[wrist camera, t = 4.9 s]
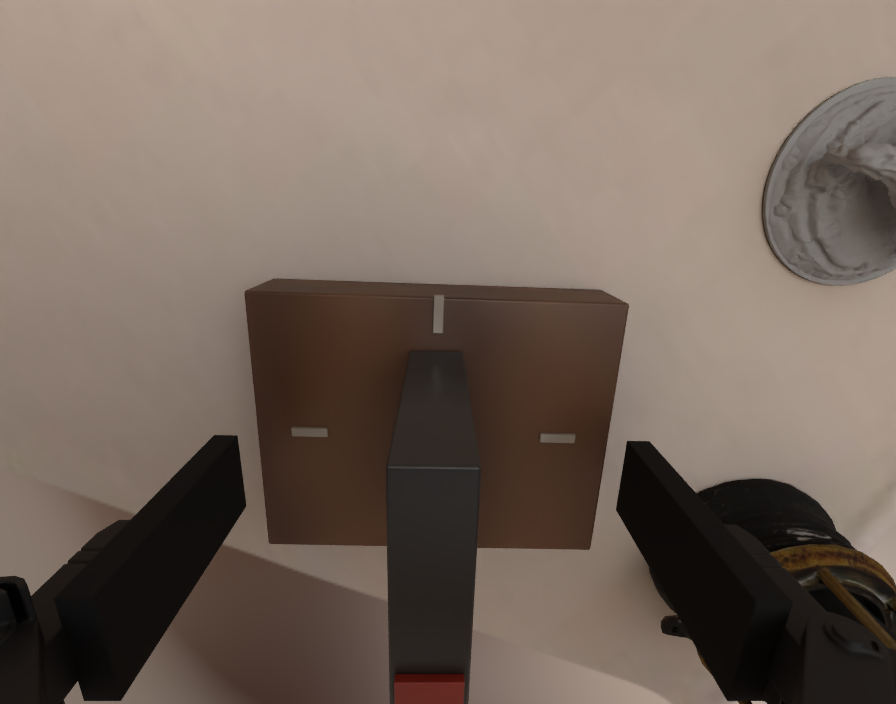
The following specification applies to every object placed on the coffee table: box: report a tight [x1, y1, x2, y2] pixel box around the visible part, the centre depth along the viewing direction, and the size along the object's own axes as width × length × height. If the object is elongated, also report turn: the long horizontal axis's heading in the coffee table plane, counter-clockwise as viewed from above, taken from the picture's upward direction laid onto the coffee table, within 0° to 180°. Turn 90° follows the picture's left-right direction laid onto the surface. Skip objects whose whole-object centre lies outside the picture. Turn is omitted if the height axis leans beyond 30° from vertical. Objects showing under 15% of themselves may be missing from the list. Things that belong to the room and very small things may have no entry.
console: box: [245, 279, 629, 550], centre depth 20 cm, size 14×11×3 cm
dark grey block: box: [386, 351, 481, 704], centre depth 14 cm, size 7×2×8 cm, turn 179°
